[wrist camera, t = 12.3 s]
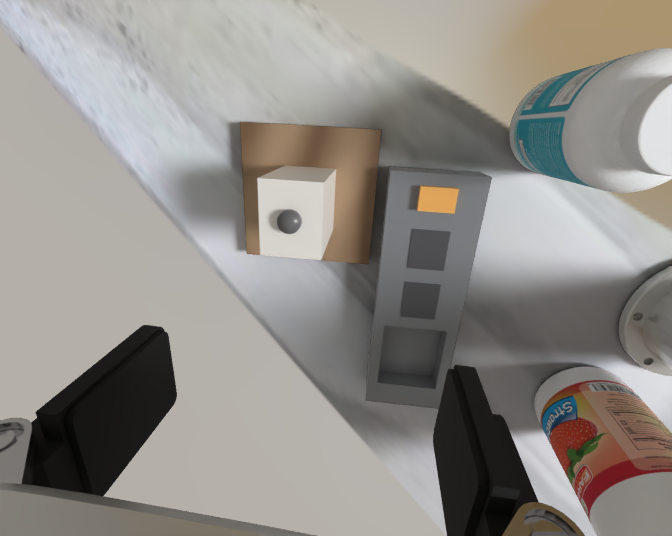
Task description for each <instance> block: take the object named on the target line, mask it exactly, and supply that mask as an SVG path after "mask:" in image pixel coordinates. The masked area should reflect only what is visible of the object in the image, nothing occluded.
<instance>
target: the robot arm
mask: <svg viewBox="0 0 672 536" xmlns="http://www.w3.org/2000/svg"><path fill="white" fill-rule="evenodd" d="M619 338H620V341H621V345H622V346H623V348H624V350H625V351H626V353H627V354H628V355H629V356H630V357H631V358H632V359H633V360H634V361H635V362H637V363H638V364H639V365H640V366H642V367H643V368H645V369H647V370H649V371H651V372H654V373H658V374H661V375H666V376H672V266H669V267H668V268H666V269H664V270H662V271H660V272H658V273H657V274H655V275H654V276H653V277H651V278H650V279H648V280H647V281H646V282H644V283H643V284H642V285H641V286H640V287H639V288H638V289H637V290H636V291H635V292H634V294H633V295H632V296H631V298H630V299H629V300H628V302H627V303H626V305H625V307H624V310H623V312H622V314H621V317H620V322H619ZM176 397H177V392H176V385H175V378H174V371H173V364H172V358H171V351H170V344H169V337H168V334H167V332H164V329H163V328H162V327H157V326H150V325H143V326H142V327H140V328H139V329H138V330H136V331H135V332H134V333H133V334H132V335H130V336H129V337H128V338H127V339H125V340H124V341H123V342H122V343H120V344H119V345H118V346H117V347H115V348H114V349H113V350H112V351H110V352H109V353H108V354H107V355H106V356H104V357H103V358H102V359H101V360H99V361H98V362H97V363H96V364H94V365H93V366H92V367H91V368H90V369H88V370H87V371H86V372H84V373H83V374H82V375H81V376H80V377H78V378H77V379H76V380H75V381H73V382H72V383H71V384H70V385H68V386H67V387H66V388H65V389H63V390H62V391H61V392H60V393H58V394H57V395H56V396H55V397H54V398H52V399H51V400H50V401H49V402H47V403H46V404H45V405H44V406H42V407H41V408H40V409H39V410H37V412H36V414H37V418H36V419H35V420H34V421H33V422H32V423H31V422H30V421H28V420H27V419H23V418H10V419H5V420H0V536H316V535H310V534H305V533H300V532H294V531H290V530H284V529H279V528H274V527H269V526H263V525H258V524H252V523H247V522H241V521H236V520H231V519H225V518H220V517H214V516H209V515H203V514H198V513H192V512H187V511H182V510H176V509H171V508H165V507H159V506H153V505H148V504H143V503H136V502H131V501H126V500H120V499H114V498H109V497H103V496H104V494H105V493H106V492H107V491H108V490H109V488H110V487H111V486H112V484H113V483H114V482H115V480H116V479H117V478H118V477H119V475H120V474H121V473H122V471H123V470H124V469H125V467H126V466H127V465H128V464H129V462H130V461H131V460H132V458H133V457H134V456H135V454H136V453H137V452H138V451H139V449H140V448H141V447H142V445H143V444H144V443H145V441H146V440H147V439H148V437H149V436H150V435H151V434H152V432H153V431H154V430H155V428H156V427H157V426H158V425H159V423H160V422H161V421H162V419H163V418H164V417H165V415H166V414H167V413H168V412H169V410H170V409H171V408H172V406H173V405H174V403H175V401H176ZM433 444H434V451H435V458H436V465H437V471H438V478H439V485H440V491H441V498H442V504H443V511H444V518H445V524H446V531H447V536H585V535H584V533H583V532H582V531H581V530H580V528H579V527H578V526H577V525H576V524H575V523H574V522H573V521H572V520H571V519H570V518H569V517H567V516H566V515H565V514H564V513H562V512H560V511H559V510H557V509H555V508H554V507H552V506H549V505H546V504H543V503H539V502H538V500H537V497H536V495H535V493H534V490H533V488H532V485H531V483H530V480H529V478H528V475H527V473H526V471H525V468H524V466H523V463H522V461H521V458H520V456H519V453H518V451H517V449H516V446H515V444H514V441H513V439H512V436H511V434H510V431H509V429H508V426H507V424H506V422H505V420H504V418H503V417H502V416H501V415H496V414H492V412H491V409H490V406H489V404H488V401H487V398H486V396H485V393H484V390H483V388H482V385H481V382H480V380H479V377H478V374H477V371H476V369H475V368H474V367H469V366H461V365H455V366H454V369H448V370H447V374H446V379H445V383H444V388H443V392H442V397H441V401H440V406H439V411H438V415H437V420H436V424H435V429H434V434H433Z"/></svg>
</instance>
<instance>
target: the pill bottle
mask: <svg viewBox="0 0 672 536" xmlns="http://www.w3.org/2000/svg"><path fill="white" fill-rule="evenodd" d="M509 139H510V145H511V149H512V152H513V154H514V156H515V157H516V159H517V160H518V161H519V162H520V163H521V164H522V165H523V166H524V167H526V168H527V169H529V170H531V171H533V172H536V173H539V174H542V175H547V176H550V177H554V178H558V179H562V180H566V181H570V182H573V183H577V184H581V185H585V186H588V187H592V188H596V189H600V190H604V191H609V192H618V193H627V192H636V191H641V190H646V189H649V188H652V187H655V186H658V185H660V184H662V183H665V182H667V181H669V180H670V179H672V49H671V48H670V49H669V48H661V49H652V50H648V51H643V52H639V53H635V54H632V55H628V56H624V57H621V58H618V59H614V60H611V61H608V62H604V63H600V64H597V65H593V66H590V67H586V68H583V69H580V70H576V71H572V72H570V73H566V74H562V75H560V76H556V77H553V78H551V79H548V80H546V81H544V82H542V83H541V84H539V85H538V86H536V87H535V88H534V89H532V90H531V91H530V92H529V93H528V94H527V95H526V96H525V97H524V98H523V100H522V101H521V103H520V104H519V105H518V107H517V109H516V111H515V113H514V115H513V117H512V120H511V124H510V131H509Z"/></svg>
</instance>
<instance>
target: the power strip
mask: <svg viewBox="0 0 672 536" xmlns="http://www.w3.org/2000/svg"><path fill="white" fill-rule="evenodd" d="M491 179H492V177H490V176H488V175H486V174H484V173H481V172H467V171H451V170H436V169H420V168H404V167H389V171H388V181H387V190H386V200H385V209H384V218H383V228H382V237H381V247H380V256H379V266H378V275H377V285H376V294H375V303H374V313H373V322H372V332H371V341H370V351H369V360H368V369H367V379H366V401H375V402H384V403H393V404H402V405H411V406H420V407H428V408H437V409H439V406H440V401H441V397H442V392H443V388H444V383H445V379H446V374H447V370H448V369H450V367H451V362H452V357H453V353H454V348H455V344H456V339H457V335H458V330H459V325H460V321H461V316H462V312H463V307H464V302H465V298H466V293H467V289H468V284H469V280H470V275H471V270H472V266H473V261H474V257H475V252H476V247H477V243H478V238H479V234H480V229H481V224H482V220H483V215H484V211H485V206H486V202H487V197H488V192H489V188H490V183H491Z"/></svg>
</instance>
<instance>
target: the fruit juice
mask: <svg viewBox="0 0 672 536" xmlns="http://www.w3.org/2000/svg"><path fill="white" fill-rule="evenodd" d="M534 407H535V412H536V415H537V418H538V420H539V422H540V424H541V426H542V428H543V430H544V432H545V434H546V436H547V438H548V440H549V442H550V444H551V446H552V448H553V450H554V452H555V454H556V456H557V458H558V460H559V462H560V464H561V466H562V467H563V469H564V471H565V473H566V475H567V477H568V479H569V481H570V483H571V485H572V487H573V489H574V491H575V493H576V495H577V497H578V499H579V501H580V503H581V505H582V507H583V509H584V511H585V513H586V514H587V516H588V519H589V521H590V523H591V525H592V527H593V529H594V531H595V533H596V535H597V536H672V433H671V432H670V431H669V429H668V428H667V427H666V426H665V425H664V424H663V423H662V422H661V421H660V420H659V418H658V417H657V416H656V415H655V414H654V413H653V412H652V411H651V410H650V409H649V407H648V406H647V405H646V404H645V403H644V402H643V401H642V400H641V399H640V397H639V396H638V395H637V394H636V393H635V392H634V391H633V390H632V389H631V388H630V386H629V385H628V384H627V383H626V382H624V381H623V380H622V379H621V378H620V377H618V376H617V375H615V374H613V373H612V372H610V371H607V370H605V369H601V368H597V367H575V368H570V369H567V370H564V371H561V372H559V373H557V374H555V375H553V376H551V377H550V378H549V379H547V380H546V381H545V382H544V383H543V384H542V385H541V386H540V388H539V389H538V391H537V393H536V395H535V400H534Z"/></svg>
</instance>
